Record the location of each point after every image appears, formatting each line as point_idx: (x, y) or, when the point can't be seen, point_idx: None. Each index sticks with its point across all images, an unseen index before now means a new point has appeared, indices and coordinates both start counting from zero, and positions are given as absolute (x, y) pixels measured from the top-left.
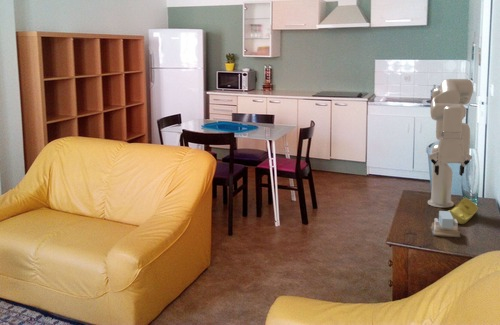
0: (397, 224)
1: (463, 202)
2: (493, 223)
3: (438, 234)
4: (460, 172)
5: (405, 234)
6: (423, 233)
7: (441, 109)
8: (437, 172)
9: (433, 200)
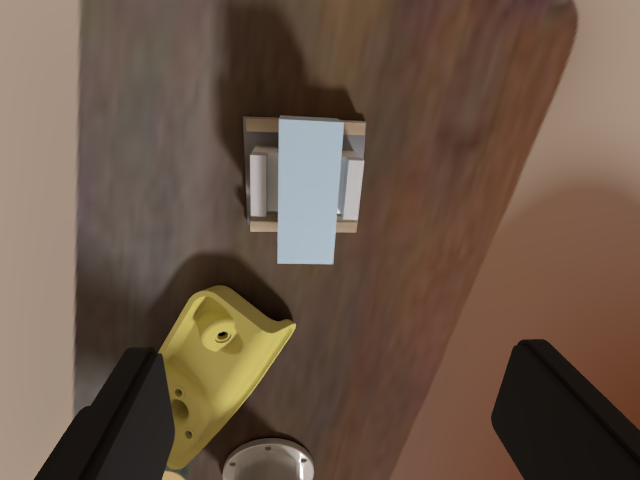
0: (482, 247)
1: (187, 437)
2: (83, 310)
3: (345, 120)
4: (146, 410)
5: (486, 126)
6: (402, 149)
7: None
8: (566, 367)
9: (297, 472)
